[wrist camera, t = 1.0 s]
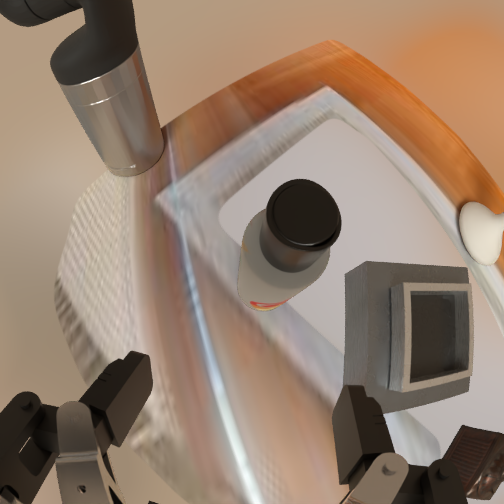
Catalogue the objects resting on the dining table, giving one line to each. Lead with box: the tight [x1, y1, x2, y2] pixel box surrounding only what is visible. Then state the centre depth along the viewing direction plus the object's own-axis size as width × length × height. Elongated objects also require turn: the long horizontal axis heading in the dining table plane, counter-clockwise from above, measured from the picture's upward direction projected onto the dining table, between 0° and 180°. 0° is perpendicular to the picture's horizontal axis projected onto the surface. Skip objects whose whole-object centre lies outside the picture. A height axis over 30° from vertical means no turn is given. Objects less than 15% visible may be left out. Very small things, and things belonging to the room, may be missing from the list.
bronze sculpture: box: [442, 425, 504, 500], centre depth 16 cm, size 16×11×18 cm
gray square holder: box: [343, 261, 474, 414], centre depth 27 cm, size 16×16×9 cm
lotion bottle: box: [237, 179, 341, 311], centre depth 22 cm, size 6×6×20 cm
